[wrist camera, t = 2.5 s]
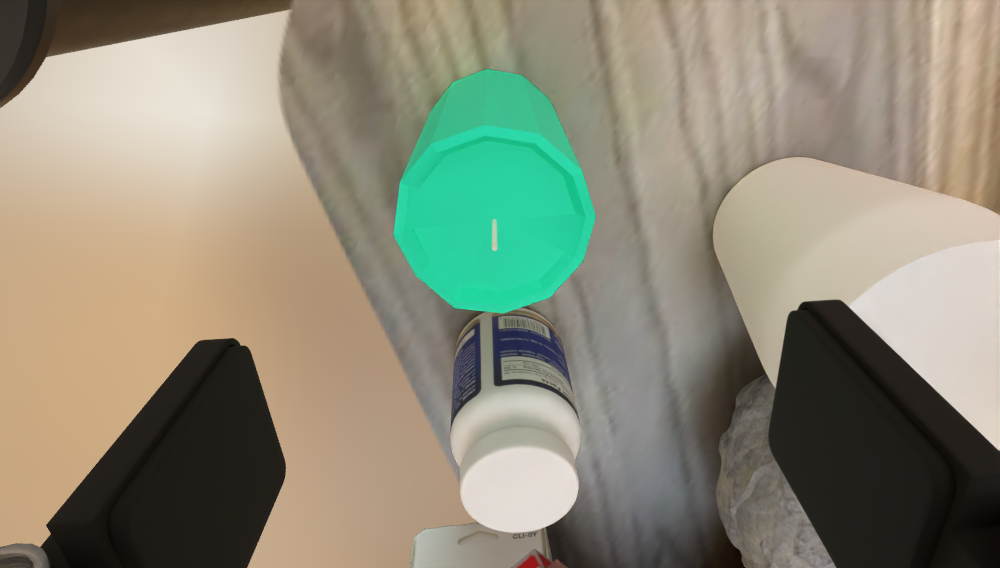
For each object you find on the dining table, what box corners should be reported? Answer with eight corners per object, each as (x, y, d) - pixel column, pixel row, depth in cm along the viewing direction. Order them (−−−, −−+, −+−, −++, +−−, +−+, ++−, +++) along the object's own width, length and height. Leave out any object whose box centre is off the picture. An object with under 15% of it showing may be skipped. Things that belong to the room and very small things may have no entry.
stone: (820, 668, 21) (689, 393, 24) (727, 583, 36) (655, 421, 39) (1240, 513, 20) (1048, 252, 23) (965, 493, 35) (872, 336, 38)
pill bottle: (489, 406, 34) (491, 561, 25) (434, 332, 32) (415, 475, 23) (581, 364, 33) (616, 511, 24) (531, 283, 30) (550, 414, 22)
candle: (510, 38, 25) (523, 88, 14) (585, 154, 27) (645, 271, 17) (398, 122, 27) (336, 224, 16) (478, 226, 29) (471, 374, 18)
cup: (658, 187, 28) (760, 320, 18) (852, 92, 26) (1098, 176, 16) (721, 331, 32) (836, 513, 21) (894, 257, 30) (1116, 415, 19)
